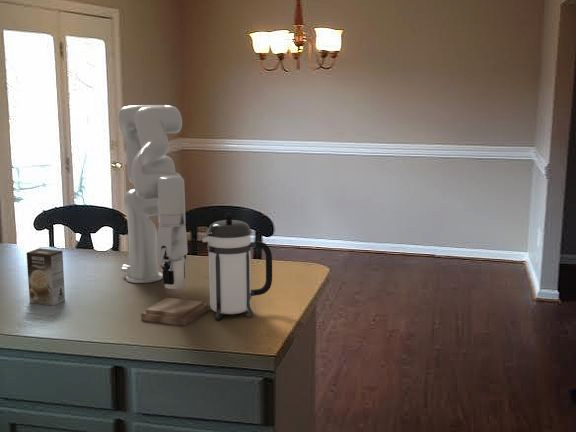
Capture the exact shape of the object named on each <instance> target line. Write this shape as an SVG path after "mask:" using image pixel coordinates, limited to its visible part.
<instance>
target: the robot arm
mask: <svg viewBox="0 0 576 432" xmlns="http://www.w3.org/2000/svg"><path fill="white" fill-rule="evenodd" d="M117 116H118V125H119V129H120V131H121V134H122V136H123V139H124V142H125V147H126V148H125V150H126V173H127V178H128V180H129V182H130V183H131V184H133V188H132V189H129V190H128V191H126V193H125V194H124V198H123V202H124V203H123V205H124V207H125V208H124V209H125V214H126V220H127V230H128V231H127V233H128V235H127V236H128V249H129V250H128V255H129V256H128V257H129V258H128V259H129V265H128V264H123V265H122V266H121V269H120V270H121V272H124V273H126V275H125V280H126V281H127V282H129V283H132V284H133V283H134V284H149V283H155V282H159V281H160V280H162V283H163V284H164V285H165V284H170V285H173V284H174V271H172V267H173V260H175V259H177V258H179V257H181V256H182V258H183V259H184V280H185V278H186V269H185V266H186V259H187V254H188V253H189V248H188V237H187V229H186V228H187V227H186V223H187V222H186V220H187V219H186V195H185V194H186V193H185V192H186V191H185V179H184V178H183V177H182V175H181V174H180V173H179V172H176V168H175V167H176V166H175V162H174V160H173V159H172V157H171V156H169V155H167V154H168V152H169V150H170V143H169V139H168V135H167V134H178V133H179V132H181V130H182V128H183V116H182V114H181V112H180V110H179V109H178V108H177V107H176V106H173V105H167V104H141V105H140V104H138V105H137V104H135V105H134V104H133V105H127V106H123V107H121V108H120V109H119V111H118V115H117ZM152 216H158V227H156V225H155V223H154V222H153V221H152V220H151V219H150V217H152ZM166 258H169V260H167V259H166ZM166 262H169V265H168V264H167V263H166ZM159 266H160V269H161V271H162V272H160V271H159Z"/></svg>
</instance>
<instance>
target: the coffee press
mask: <svg viewBox="0 0 576 432" xmlns="http://www.w3.org/2000/svg"><path fill="white" fill-rule="evenodd" d="M233 217H234V215H233V214H232V213H231V212H226V213H225V215H224V218H225V219H223V220H217V221H214V222H213V223H211V224H210V225H209V227H208V229H207V230H206V234H205V235H204V237H203V239H202V243H207V251H208V276H209V279H208V280H209V305H208V311H213V312H215V315H214V320H215V321H221V320H222V318H223V316H224V315H237V314H241V313H243V314H245V316H246V317H247V318H252V317H253V316H254V312H253V309H252V308H251V306H252V297H255V296H261V295H263V294H266V293H267V292H268V291H270V288H271V287H272V284H273V256H272V255H273V254H272V251H271V249H270V247H269V246H268V244H266V243H264V242H262V241H259V240H258V241H251V235H252V229H251V228H250V226H249V224H248V223H246V222H245V221H241V220H238V219H237V220H236V219H235V220H234V218H233ZM252 248H258V249H262V250H263V252H264V255H265V283H264V285H263V286H262V287H260V288H257V289H256V288H255V289H252V271H251V270H252V268H251V266H252V265H251V264H252V263H251V261H252V258H251V256H252V255H251V251H252Z"/></svg>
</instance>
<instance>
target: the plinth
mask: <svg viewBox="0 0 576 432" xmlns="http://www.w3.org/2000/svg"><path fill="white" fill-rule="evenodd" d="M207 312H209V305H208V304H207V303H204V301H200V300H199V301H198V300H190V299H182V298H174V297H166V298H164V299H162V300H161V301H158V302H157V303H155V304H153V305H151V306H150V307H148V308H146V309H145V310H144V311H143V312H141V313H140V316H141V317H140V318H141V320H140V321H145V322H151V323H152V322H153V323H160V324H166V325H167V324H169V325H176V326H184V327H185V326H186V325H187V326H188V325H189V324H190V323H192V322H193V321H195V320H197V318H199V317H201V316H202V315H204V314H206V313H207Z"/></svg>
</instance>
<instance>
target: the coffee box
mask: <svg viewBox="0 0 576 432" xmlns="http://www.w3.org/2000/svg"><path fill="white" fill-rule="evenodd" d="M63 256H64V255H63V250H57V249H51V248H50V249H48V248H40V247H39V248H36V249H34V250H30V251H28V252H26V265H27V268H26V269H27V280H28V282H27V283H28V295H29V296H28V297H29V303H31V304H37V305H45V306H53V305H54V306H56V305H58V304H60V303H62V302H64V301H66V294H65V293H66V292H65V291H66V290H65V274H64V273H65V272H64V257H63Z"/></svg>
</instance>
